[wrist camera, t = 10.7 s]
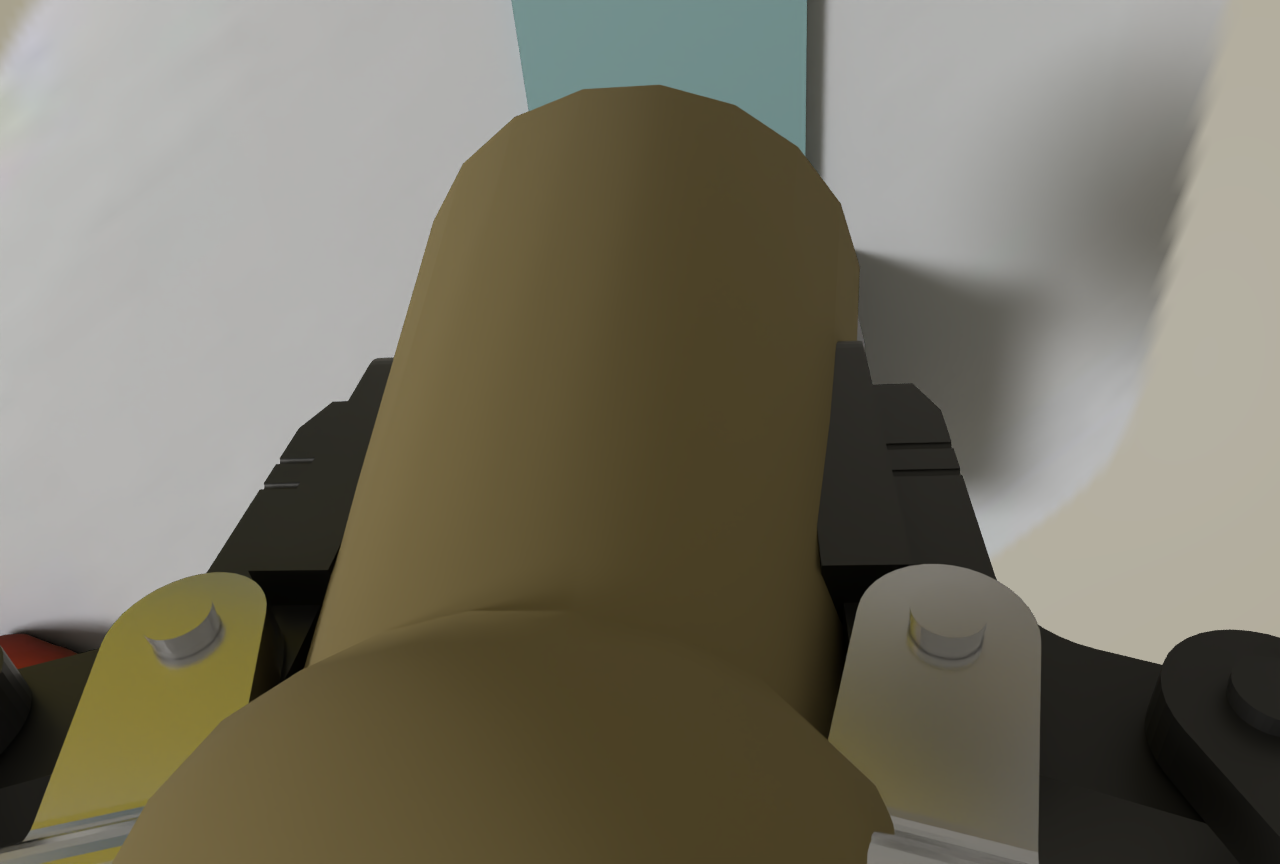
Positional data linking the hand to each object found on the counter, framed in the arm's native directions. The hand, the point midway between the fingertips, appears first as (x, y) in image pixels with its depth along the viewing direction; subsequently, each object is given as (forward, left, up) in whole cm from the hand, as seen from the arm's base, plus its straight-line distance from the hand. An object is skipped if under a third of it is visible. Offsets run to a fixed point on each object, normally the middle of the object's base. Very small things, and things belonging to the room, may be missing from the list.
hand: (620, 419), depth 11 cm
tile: (0, 0, -14) cm, 14 cm away
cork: (0, 0, -3) cm, 3 cm away
